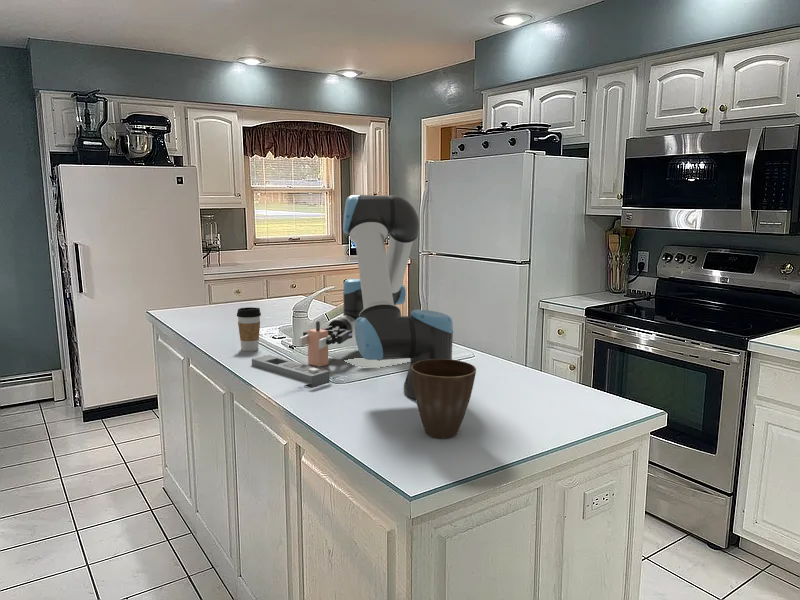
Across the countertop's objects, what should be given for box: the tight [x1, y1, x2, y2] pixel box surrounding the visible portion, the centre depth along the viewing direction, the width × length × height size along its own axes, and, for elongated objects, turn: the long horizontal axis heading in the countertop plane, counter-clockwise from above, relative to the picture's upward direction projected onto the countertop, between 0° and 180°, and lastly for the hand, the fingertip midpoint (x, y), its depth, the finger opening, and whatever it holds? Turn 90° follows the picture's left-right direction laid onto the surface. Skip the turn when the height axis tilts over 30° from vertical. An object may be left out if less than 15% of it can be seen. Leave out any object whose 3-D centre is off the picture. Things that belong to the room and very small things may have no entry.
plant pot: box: [411, 359, 477, 440], centre depth 142 cm, size 15×15×16 cm
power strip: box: [251, 354, 330, 389], centre depth 187 cm, size 28×7×4 cm, turn 50°
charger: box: [307, 320, 329, 368], centre depth 194 cm, size 5×4×14 cm
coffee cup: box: [236, 306, 262, 352], centre depth 218 cm, size 8×8×15 cm
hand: (310, 343), depth 189 cm, fingers closed on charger, 6 cm apart
